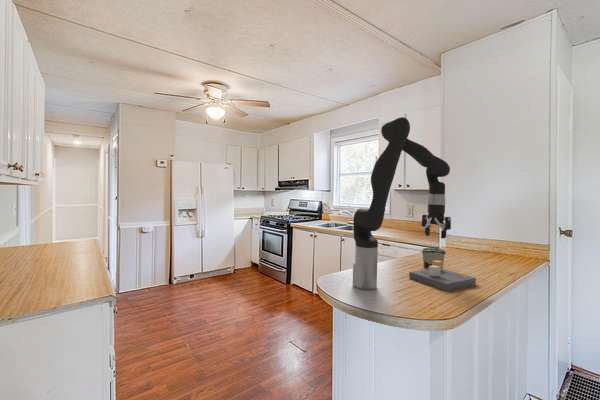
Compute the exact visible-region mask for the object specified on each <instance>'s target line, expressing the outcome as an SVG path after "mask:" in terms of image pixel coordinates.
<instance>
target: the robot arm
mask: <svg viewBox="0 0 600 400" xmlns="http://www.w3.org/2000/svg"><path fill="white" fill-rule="evenodd" d="M410 130H411V124H410V122H409V120H408V119H407V117H402V116H401V117H397V118H394V119H391V120H388V121H387V122H385V123H383V125H382V127H381V129H380V132H381V136H382V137H383V138H384V139H385V140H386V141H387V142H388V144H387V146H386V147H385V149H384V151H382V152H381V154H380V156H379V157H378V158H377V160H376V161H375V163H374V165H373V168H372V170H371V171H372V172H371V176H370V185H371V189H372V190H371V191H372V199H371V203H370V206H369V207H368V208H367V207H360V208H358V209H357V210H356V211H355V213H354V215H353V222H352V223H353V239H354V242H355V246H354V247H355V251H354V254H355V255H354V259H355V260H354V262H353V264H352V286H354V287H355V288H357V289H359V290H361V291H362V290H368V291H369V290H370V291H371V290H375V289H376V288H377V287H378V285H377V284H378V253H379V251H378V250H379V242H378V239H377V238H375V236H373V234H372V232H376V231H378V230H379V229H380V228H381V226H382V224H383V222H384V218H385V211H386V206H387V201H388V197H389V194H390V190H391V187H392V184H393V180H394V177H395V175H396V170H397V167H398V164H399V160H400V157H401V155H402V152H404V153H405V154H408V155H409V156H410V157H411V158H412V159H414V161H416V162H417V164H419V165H420V166H421V167H424V168H425V169H426V170H425V174H426V179H427V183H428V198H427V199H428V200H427V213H428V214H422V216H421V217H422V218H421V227H424V235H425V236H426V237H427V236H428V237H429V236H430V235H431V226H432V225H435V226H438V227H439V228H440V230H441V231H440V238H441V239H443V240H445V239H446V238H447V231H449V230H451V229H452V219H451V216H445V213H446V184H445V183H444V182H441V181H440V180H439V178H441V177H442V178H445V177H447V176H448V175H449V174H450V171H451V169H450V164H448V162H446V161H445V160H444V159H442V158H440V157H438V156H436V155H434V154H433V153H432V151H430V150H429V149H428V148H427V147H425V146H424V145H422V144H420V143H418V142H415V141H413V140H411V139H409V134H410V132H411V131H410Z"/></svg>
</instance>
